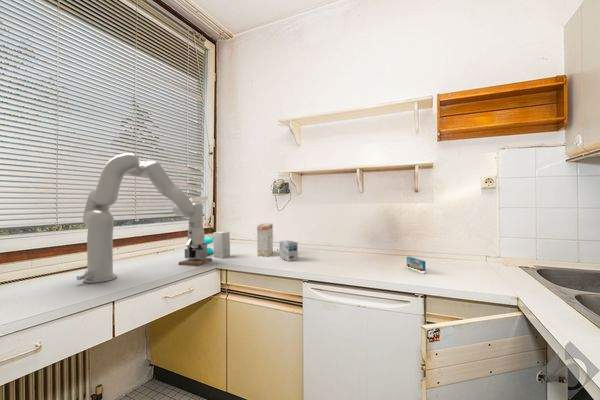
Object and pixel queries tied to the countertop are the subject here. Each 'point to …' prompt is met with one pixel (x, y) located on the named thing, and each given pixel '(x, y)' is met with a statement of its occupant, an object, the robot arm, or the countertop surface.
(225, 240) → the skincare box
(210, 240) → the donuts
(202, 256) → the gray open box
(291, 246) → the light bulb box
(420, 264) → the teal flat box
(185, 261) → the keeper board
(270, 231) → the coffeecake box
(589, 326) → the countertop surface
